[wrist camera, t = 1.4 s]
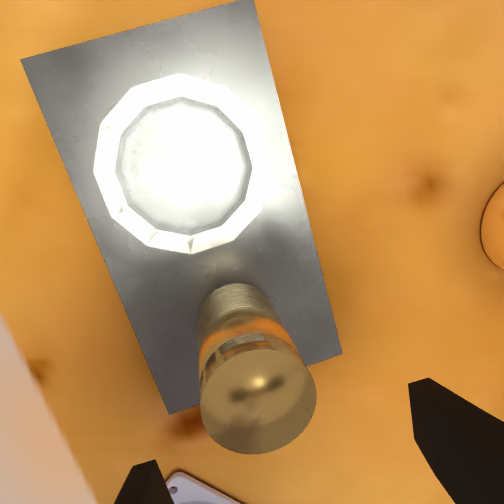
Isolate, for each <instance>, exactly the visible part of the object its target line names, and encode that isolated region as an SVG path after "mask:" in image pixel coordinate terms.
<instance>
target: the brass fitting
mask: <svg viewBox="0 0 504 504" xmlns="http://www.w3.org/2000/svg"><path fill="white" fill-rule="evenodd" d="M197 326H198V355H199V383H200V410H201V418H202V422H203V424H204V427H205V429H206V431H207V432H208V434H209V435H210V436H211V437H212V439H213V440H214V441H216V442H217V443H218V444H219V445H221V446H222V447H224V448H226V449H228V450H231V451H234V452H237V453H242V454H262V453H267V452H271V451H274V450H277V449H279V448H281V447H283V446H285V445H287V444H288V443H290V442H291V441H293V440H294V439H295V438H296V437H298V436H299V435H300V434H301V433H302V432H303V430H304V429H305V428H306V426H307V425H308V423H309V422H310V420H311V418H312V415H313V413H314V410H315V406H316V387H315V384H314V381H313V378H312V376H311V374H310V373H309V371H308V369H307V367H306V365H305V363H304V362H303V360H302V358H301V356H300V354H299V353H298V351H297V349H296V347H295V345H294V344H293V342H292V340H291V338H290V336H289V335H288V333H287V331H286V329H285V327H284V326H283V324H282V322H281V320H280V318H279V317H278V315H277V313H276V311H275V309H274V307H273V306H272V304H271V302H270V300H269V299H268V297H267V296H266V295H265V294H264V293H263V292H262V291H261V290H259V289H257V288H256V287H254V286H251V285H248V284H242V283H234V284H228V285H225V286H222V287H220V288H218V289H216V290H215V291H213V292H212V293H211V294H209V295H208V297H207V298H206V299H205V300H204V302H203V303H202V305H201V307H200V310H199V313H198V319H197Z"/></svg>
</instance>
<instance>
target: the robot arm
mask: <svg viewBox="0 0 504 504" xmlns="http://www.w3.org/2000/svg"><path fill="white" fill-rule="evenodd" d="M408 388H409V397H410V406H411V414H412V423H413V432H414V439H415V441H416V443H417V445H418V446H419V448H420V450H421V452H422V454H423V455H424V457H425V459H426V461H427V462H428V464H429V466H430V467H431V469H432V471H433V472H434V474H435V476H436V477H437V479H438V480H439V481H440V483H441V484H442V486H443V487H444V488H445V490H446V491H447V492H448V494H449V495H450V497H451V498H452V499H453V501H454V502H455V504H504V422H503V421H501V420H499V419H497V418H496V417H494V416H492V415H490V414H489V413H487V412H485V411H484V410H482V409H480V408H478V407H477V406H475V405H473V404H472V403H470V402H468V401H467V400H465V399H463V398H462V397H460V396H458V395H457V394H455V393H453V392H452V391H450V390H448V389H447V388H445V387H443V386H442V385H440V384H438V383H437V382H435V381H433V380H432V379H430V378H426V379H422V380H419V381H416V382H412V383H409V384H408ZM173 486H174V487H176V488H171V487H173ZM114 504H241V503H239V502H237V501H235V500H233V499H231V498H229V497H228V496H226V495H224V494H222V493H220V492H218V491H216V490H215V489H213V488H211V487H209V486H207V485H205V484H203V483H202V482H200V481H198V480H196V479H194V478H192V477H190V476H189V475H187V474H185V473H182V472H177V473H174V474H173V475H172V476H171V477H170V478H169V479H168V481H167V482H166V483H165V481H164V478H163V476H162V474H161V471H160V469H159V467H158V464H157V462H156V460H151V461H148V462H145V463H141V464H138V465H135V466H133V467H132V469H131V470H130V472H129V474H128V476H127V478H126V480H125V482H124V484H123V486H122V488H121V490H120V492H119V494H118V496H117V498H116V500H115V502H114Z"/></svg>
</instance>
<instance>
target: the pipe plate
mask: <svg viewBox="0 0 504 504" xmlns="http://www.w3.org/2000/svg"><path fill="white" fill-rule="evenodd" d="M20 61H21V63H22V65H23V68H24V70H25V72H26V75H27V77H28V80H29V82H30V84H31V87H32V89H33V92H34V94H35V96H36V99H37V101H38V103H39V106H40V108H41V111H42V113H43V115H44V118H45V120H46V122H47V125H48V127H49V130H50V132H51V134H52V137H53V139H54V142H55V144H56V146H57V149H58V151H59V153H60V156H61V158H62V161H63V163H64V165H65V168H66V170H67V173H68V175H69V177H70V180H71V182H72V184H73V187H74V189H75V192H76V194H77V196H78V199H79V201H80V203H81V206H82V208H83V211H84V213H85V215H86V218H87V220H88V223H89V225H90V227H91V230H92V232H93V234H94V237H95V239H96V242H97V244H98V246H99V249H100V251H101V254H102V256H103V258H104V261H105V263H106V265H107V268H108V270H109V273H110V275H111V277H112V280H113V282H114V285H115V287H116V289H117V292H118V294H119V296H120V299H121V301H122V304H123V306H124V308H125V311H126V313H127V315H128V318H129V320H130V323H131V325H132V327H133V330H134V332H135V335H136V337H137V339H138V342H139V344H140V346H141V349H142V351H143V354H144V356H145V358H146V361H147V363H148V366H149V368H150V370H151V373H152V375H153V377H154V380H155V382H156V385H157V387H158V389H159V392H160V394H161V397H162V399H163V401H164V404H165V406H166V408H167V411H168V413H169V415H171V414H173V413H176V412H179V411H182V410H185V409H188V408H190V407H193V406H196V405H199V404H200V383H199V355H198V326H197V319H198V313H199V310H200V307H201V305H202V303H203V302H204V300H205V299H206V298H207V297H208V295H209V294H211V293H212V292H213V291H215V290H216V289H218V288H220V287H222V286H225V285H228V284H234V283H242V284H248V285H251V286H254V287H256V288H257V289H259V290H261V291H262V292H263V293H264V294H265V295H266V296H267V297H268V299H269V300H270V302H271V304H272V306H273V307H274V309H275V311H276V313H277V315H278V317H279V318H280V320H281V322H282V324H283V326H284V327H285V329H286V331H287V333H288V335H289V336H290V338H291V340H292V342H293V344H294V345H295V347H296V349H297V351H298V353H299V354H300V356H301V358H302V360H303V362H304V363H305V365H306V366H309V365H312V364H315V363H317V362H320V361H323V360H326V359H329V358H332V357H334V356H337V355H340V354H342V350H341V346H340V342H339V338H338V334H337V330H336V326H335V322H334V318H333V314H332V310H331V306H330V302H329V298H328V294H327V290H326V286H325V282H324V278H323V274H322V270H321V266H320V262H319V258H318V254H317V250H316V246H315V242H314V238H313V234H312V230H311V226H310V222H309V218H308V215H307V211H306V207H305V203H304V199H303V195H302V191H301V187H300V183H299V179H298V175H297V171H296V167H295V163H294V159H293V155H292V151H291V147H290V143H289V139H288V135H287V131H286V127H285V123H284V119H283V115H282V111H281V107H280V103H279V99H278V95H277V91H276V87H275V83H274V79H273V75H272V71H271V67H270V63H269V59H268V55H267V51H266V47H265V43H264V39H263V35H262V31H261V27H260V23H259V19H258V15H257V12H256V8H255V4H254V0H238V1H235V2H231V3H227V4H223V5H220V6H216V7H212V8H209V9H205V10H201V11H198V12H194V13H190V14H187V15H183V16H179V17H175V18H172V19H168V20H164V21H161V22H157V23H153V24H150V25H146V26H142V27H138V28H135V29H131V30H127V31H124V32H120V33H116V34H113V35H109V36H105V37H102V38H98V39H94V40H90V41H87V42H83V43H79V44H76V45H72V46H68V47H65V48H61V49H57V50H54V51H50V52H46V53H42V54H39V55H35V56H31V57H28V58H24V59H20Z"/></svg>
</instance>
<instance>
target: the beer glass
mask: <svg viewBox="0 0 504 504" xmlns="http://www.w3.org/2000/svg"><path fill="white" fill-rule="evenodd" d="M481 239H482V244H483V248H484V250H485V252H486V254H487V256H488V257H489V259H490V260H491V261H492V262H493V263H494V264H495V265H497V266H498V267H500V268H501V269H503V270H504V183H503V184H502V185H501V186H500V187H499V188H498V189H497V191H496V192H495V193H494V194H493V196H492V197H491V199H490V201H489V203H488V205H487V207H486V209H485V212H484V215H483V219H482V224H481Z"/></svg>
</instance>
